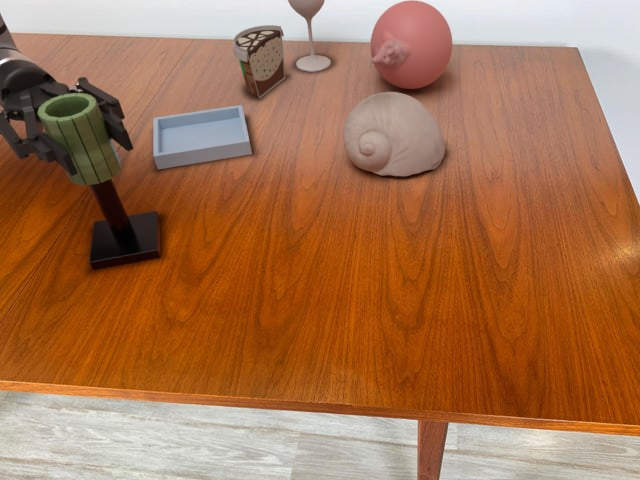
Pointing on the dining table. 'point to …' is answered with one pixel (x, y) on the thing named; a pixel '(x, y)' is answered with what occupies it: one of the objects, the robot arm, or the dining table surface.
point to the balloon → (411, 44)
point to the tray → (200, 137)
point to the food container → (260, 58)
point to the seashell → (393, 135)
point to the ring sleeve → (81, 136)
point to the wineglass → (310, 35)
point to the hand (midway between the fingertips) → (99, 152)
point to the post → (122, 231)
